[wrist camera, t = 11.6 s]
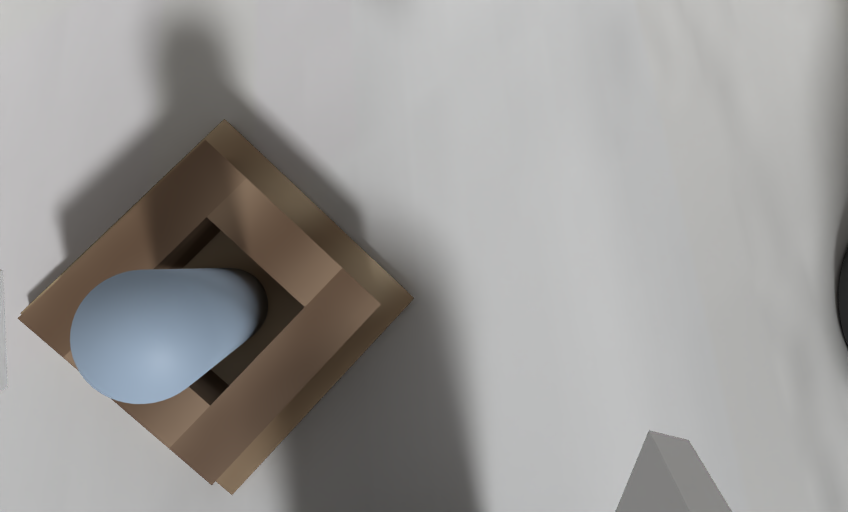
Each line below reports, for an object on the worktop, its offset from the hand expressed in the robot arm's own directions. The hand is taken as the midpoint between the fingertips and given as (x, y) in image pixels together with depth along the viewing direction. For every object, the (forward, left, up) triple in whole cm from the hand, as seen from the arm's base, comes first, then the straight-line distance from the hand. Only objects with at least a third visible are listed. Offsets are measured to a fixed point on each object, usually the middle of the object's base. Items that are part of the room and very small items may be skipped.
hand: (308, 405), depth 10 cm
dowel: (+4, +3, -18) cm, 19 cm away
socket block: (+5, +3, -19) cm, 20 cm away
